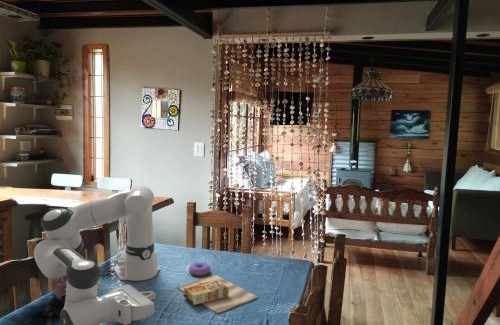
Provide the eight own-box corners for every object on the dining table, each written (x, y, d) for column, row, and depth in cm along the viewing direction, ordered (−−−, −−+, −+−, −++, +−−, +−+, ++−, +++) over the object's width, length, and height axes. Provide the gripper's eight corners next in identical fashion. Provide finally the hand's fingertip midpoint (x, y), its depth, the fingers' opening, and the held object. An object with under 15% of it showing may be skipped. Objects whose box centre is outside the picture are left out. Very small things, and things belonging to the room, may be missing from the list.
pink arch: (81, 294, 154) (77, 277, 155) (85, 293, 151) (81, 275, 152) (55, 302, 147) (51, 284, 148) (58, 300, 144) (55, 282, 145)
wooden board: (176, 288, 158) (176, 286, 158) (215, 276, 171) (215, 274, 171) (217, 314, 137) (217, 312, 137) (258, 298, 151) (258, 296, 151)
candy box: (192, 305, 142) (228, 297, 150) (193, 294, 141) (229, 286, 150) (183, 296, 149) (218, 288, 157) (183, 286, 149) (218, 278, 157)
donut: (189, 267, 180) (192, 258, 179) (208, 272, 180) (211, 262, 180) (187, 276, 170) (189, 266, 169) (207, 280, 170) (210, 270, 170)
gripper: (103, 303, 134) (140, 292, 143) (128, 327, 119) (168, 313, 128) (103, 286, 134) (140, 276, 143) (128, 308, 118) (168, 295, 128)
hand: (154, 294), depth 135 cm, fingers closed
